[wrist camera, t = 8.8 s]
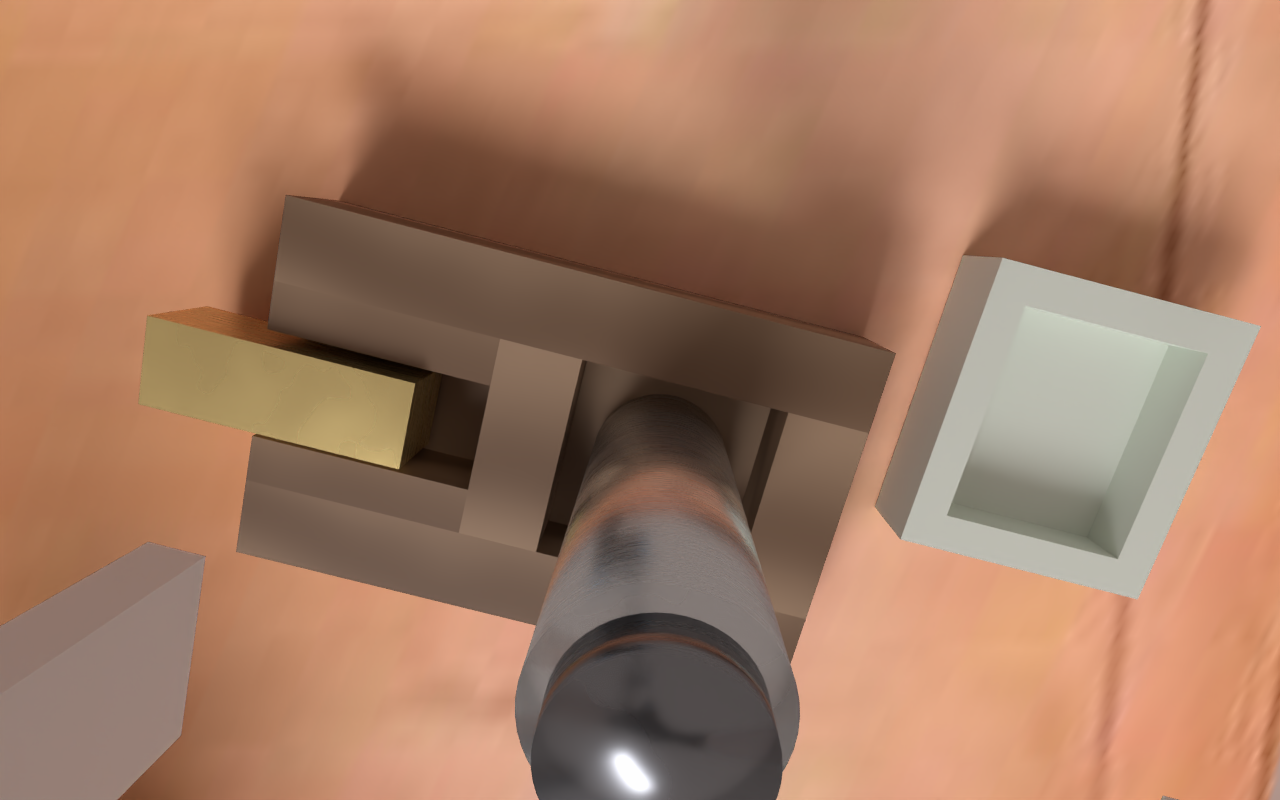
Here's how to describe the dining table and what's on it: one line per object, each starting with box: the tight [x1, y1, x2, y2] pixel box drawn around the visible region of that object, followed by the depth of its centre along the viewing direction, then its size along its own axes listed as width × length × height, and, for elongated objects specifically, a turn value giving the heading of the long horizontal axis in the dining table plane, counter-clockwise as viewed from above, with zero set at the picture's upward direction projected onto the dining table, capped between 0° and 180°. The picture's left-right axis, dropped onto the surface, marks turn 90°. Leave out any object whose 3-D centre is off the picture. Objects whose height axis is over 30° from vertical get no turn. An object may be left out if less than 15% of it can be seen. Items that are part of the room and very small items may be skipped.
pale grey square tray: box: [875, 255, 1261, 599], centre depth 21 cm, size 8×7×2 cm
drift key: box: [138, 306, 442, 469], centre depth 20 cm, size 2×7×2 cm, turn 76°
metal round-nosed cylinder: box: [515, 394, 800, 800], centre depth 16 cm, size 4×4×13 cm
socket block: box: [236, 195, 896, 663], centre depth 21 cm, size 10×16×3 cm, turn 76°
